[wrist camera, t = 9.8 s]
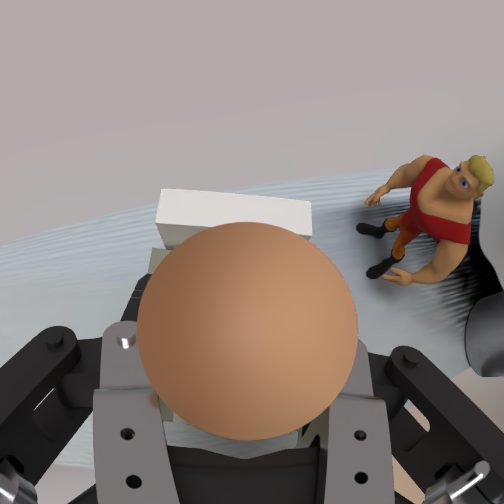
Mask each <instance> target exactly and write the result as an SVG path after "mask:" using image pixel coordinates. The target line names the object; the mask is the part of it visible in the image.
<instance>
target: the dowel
mask: <svg viewBox="0 0 504 504" xmlns="http://www.w3.org/2000/svg"><path fill="white" fill-rule="evenodd" d="M137 342H138V349H139V355H140V358H141V361H142V365H143V368H144V370H145V372H146V375H147V377H148V379H149V381H150V383H151V385H152V386H153V388H154V389H155V391H156V392H157V394H158V395H159V397H160V398H161V399H162V400H163V401H164V402H165V404H166V405H167V406H168V407H169V408H170V409H171V410H172V411H173V412H175V413H176V414H177V415H178V416H179V417H180V418H182V419H183V420H185V421H186V422H188V423H189V424H191V425H192V426H194V427H196V428H198V429H201V430H203V431H205V432H207V433H210V434H213V435H216V436H219V437H223V438H229V439H235V440H261V439H269V438H273V437H277V436H281V435H284V434H287V433H289V432H292V431H294V430H297V429H298V428H300V427H302V426H304V425H306V424H307V423H309V422H310V421H312V420H313V419H314V418H316V417H317V416H318V415H320V414H321V413H322V412H323V411H324V410H325V409H326V408H327V407H328V406H329V405H330V404H331V403H332V402H333V400H334V399H335V398H336V397H337V395H338V394H339V393H340V391H341V389H342V388H343V386H344V384H345V383H346V381H347V379H348V376H349V374H350V372H351V369H352V366H353V363H354V359H355V356H356V350H357V343H358V323H357V314H356V309H355V305H354V301H353V298H352V296H351V293H350V290H349V288H348V286H347V284H346V282H345V280H344V278H343V276H342V275H341V273H340V272H339V270H338V269H337V267H336V266H335V265H334V263H333V262H332V261H331V260H330V259H329V258H328V257H327V256H326V254H324V253H323V252H322V251H321V250H320V249H319V248H318V247H316V246H315V245H314V244H312V243H311V242H309V241H308V240H307V239H305V238H303V237H302V236H300V235H298V234H296V233H294V232H292V231H289V230H287V229H284V228H281V227H278V226H274V225H270V224H266V223H257V222H235V223H227V224H222V225H218V226H214V227H211V228H208V229H206V230H203V231H201V232H198V233H197V234H195V235H193V236H191V237H189V238H188V239H186V240H185V241H183V242H182V243H180V244H179V245H178V246H176V247H175V248H174V249H173V250H172V251H171V252H170V253H169V254H168V255H167V256H166V257H165V258H164V259H163V260H162V261H161V263H160V264H159V265H158V266H157V268H156V269H155V271H154V272H153V274H152V276H151V277H150V279H149V281H148V283H147V285H146V288H145V290H144V292H143V295H142V299H141V302H140V306H139V310H138V318H137Z"/></svg>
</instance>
